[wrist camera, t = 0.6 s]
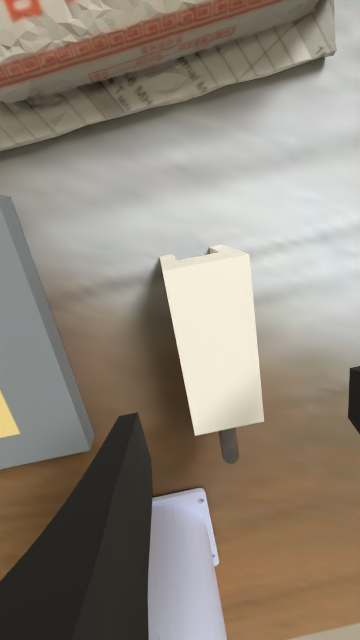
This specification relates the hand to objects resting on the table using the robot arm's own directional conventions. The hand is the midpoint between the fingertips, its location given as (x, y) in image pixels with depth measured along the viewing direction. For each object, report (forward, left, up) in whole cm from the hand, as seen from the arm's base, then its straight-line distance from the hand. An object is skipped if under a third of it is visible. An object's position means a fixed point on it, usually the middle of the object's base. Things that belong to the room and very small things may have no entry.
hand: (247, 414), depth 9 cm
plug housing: (-2, 0, -10) cm, 10 cm away
